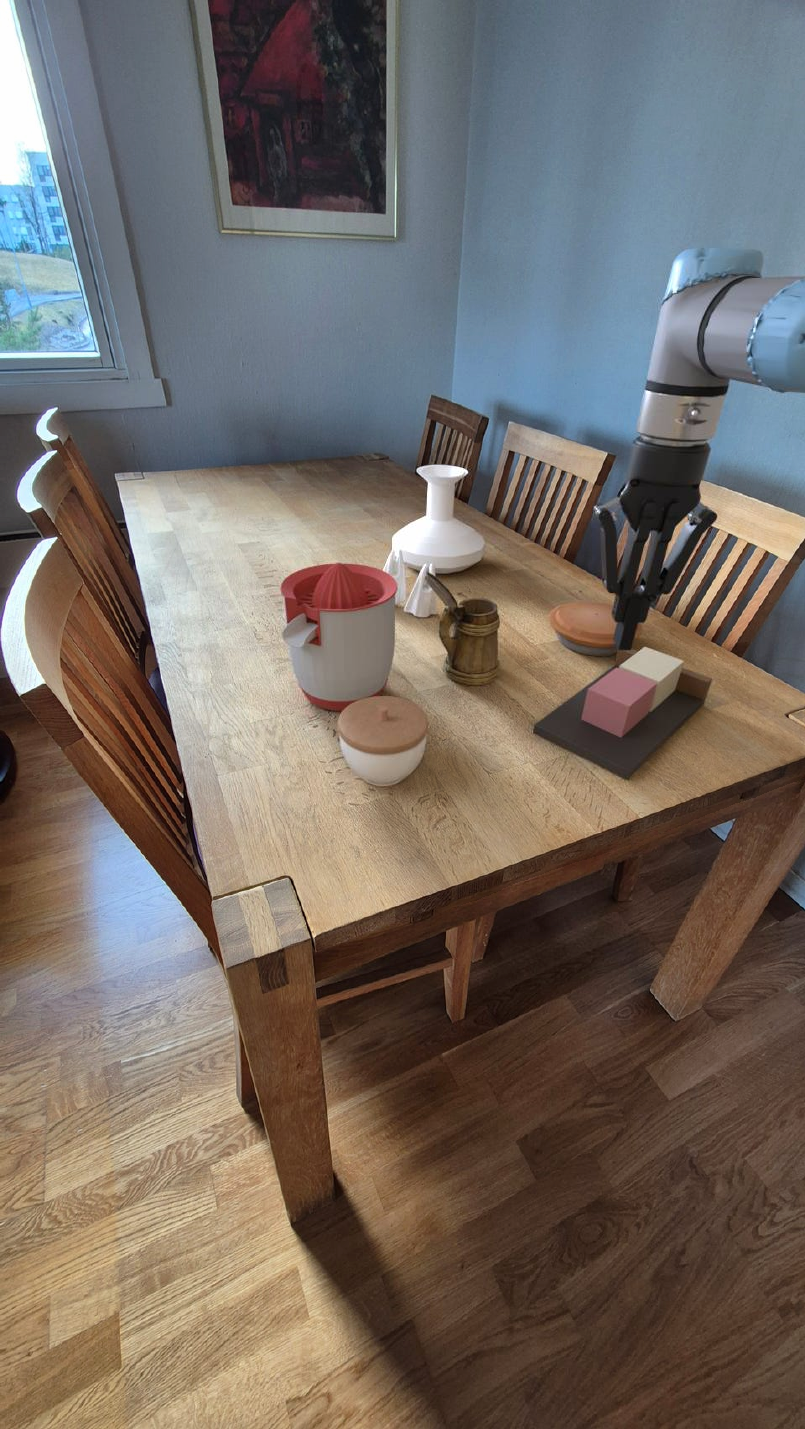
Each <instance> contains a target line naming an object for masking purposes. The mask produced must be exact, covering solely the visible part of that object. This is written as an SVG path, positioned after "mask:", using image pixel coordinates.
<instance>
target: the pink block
mask: <svg viewBox="0 0 805 1429" xmlns="http://www.w3.org/2000/svg"><path fill="white" fill-rule="evenodd" d="M656 686H657V683H655V682H652V681H650V680H647V679H645V678H642V677H639V676H637V675H634V674H632V673H629V672H627V671H624V670H622V669H619V668H615V669H614V670H613V671H611V672H610V673H609V674H607V675H606V676H605V677H603V678H602V679H601V680H599V681H598V682H597V683H595V684H594V685H593V686H591V687H590V688H589V689H588V691H587V696H586V700H585V705H584V709H583V714H582V718H581V720H584V721H586V722H588V723H590V724H592V725H594V726H597V727H599V728H601V729H603V730H605V731H607V732H610V733H612V734H614V735H616V736H618V737H620V738H621V737H623V736H624V735H625V734H626V733H627V732H628V731H629V730H630V729H631V728H633V727H634V726H635V725H636V724H637V723H638V722H639V721H640V720H642V719H643V718H644V717H645V716H646V715H647V714H648V713H649V709H650V706H651V702H652V699H653V696H654V692H655V689H656Z"/></svg>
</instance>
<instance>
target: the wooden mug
mask: <svg viewBox="0 0 805 1429" xmlns="http://www.w3.org/2000/svg"><path fill="white" fill-rule="evenodd" d="M426 581H427V583H428V584H429V585H430V587H431V588H432V589H433V591H434V592H435V593H436V594H437V598H439V600H440V601H441V602H442V603H443V604H444V606H445V607H444V609H443V611H442V612H441V615H440V619H439V622H438V637H439V639H440V641H441V644H442V645H443V647H444V649H445V651H446V653H447V654H446V656H445V657H444V660H443V663H442V671H443V673H444V674H445V675H446V676H447V677H448V678H449V679H450V680H452V681H454V682H456V683H458V684H462V685H465V686H469V687H470V686H482V685H483V686H484V685H488V684H490V683H492V682H494V681H495V680H497V679H498V678H499V677H500V675H501V664H500V663H501V662H500V660H499V635H498V634H499V629H500V626H501V621H500V615H499V612H498V609H499V608H498V604H496V603H495V602H494V601H492V600H491V599H487V598H484V597H483V598H482V597H481V598H480V597H473V598H472V597H471V598H467V599H464V600H461V601H459V603H458V601H457V599H456V598H455V596H454V595H453V594H452V593H451V591H450V590H449V589H448V588H447V587H446V585H444V583H443V582H442V581H441V580H440V579H439V578H437V576H436V577H435V576H434V575H432V574H431V573H429V572H426V575H425V582H426ZM451 627H452V631H451V634H450V630H451Z"/></svg>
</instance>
